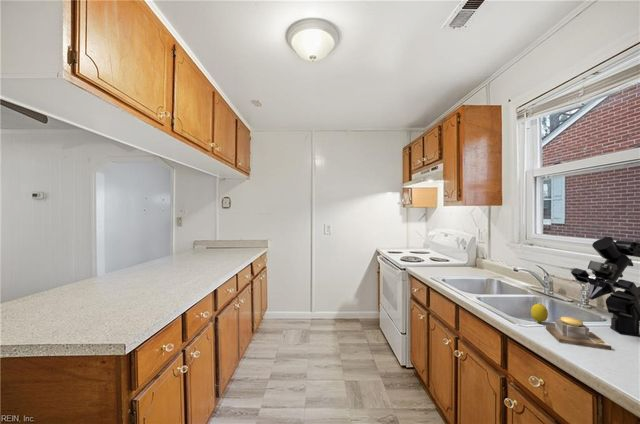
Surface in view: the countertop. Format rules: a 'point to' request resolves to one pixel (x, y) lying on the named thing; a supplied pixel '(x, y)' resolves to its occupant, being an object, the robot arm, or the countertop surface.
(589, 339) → the board
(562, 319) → the button
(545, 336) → the countertop surface
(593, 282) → the robot arm
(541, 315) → the lemon
